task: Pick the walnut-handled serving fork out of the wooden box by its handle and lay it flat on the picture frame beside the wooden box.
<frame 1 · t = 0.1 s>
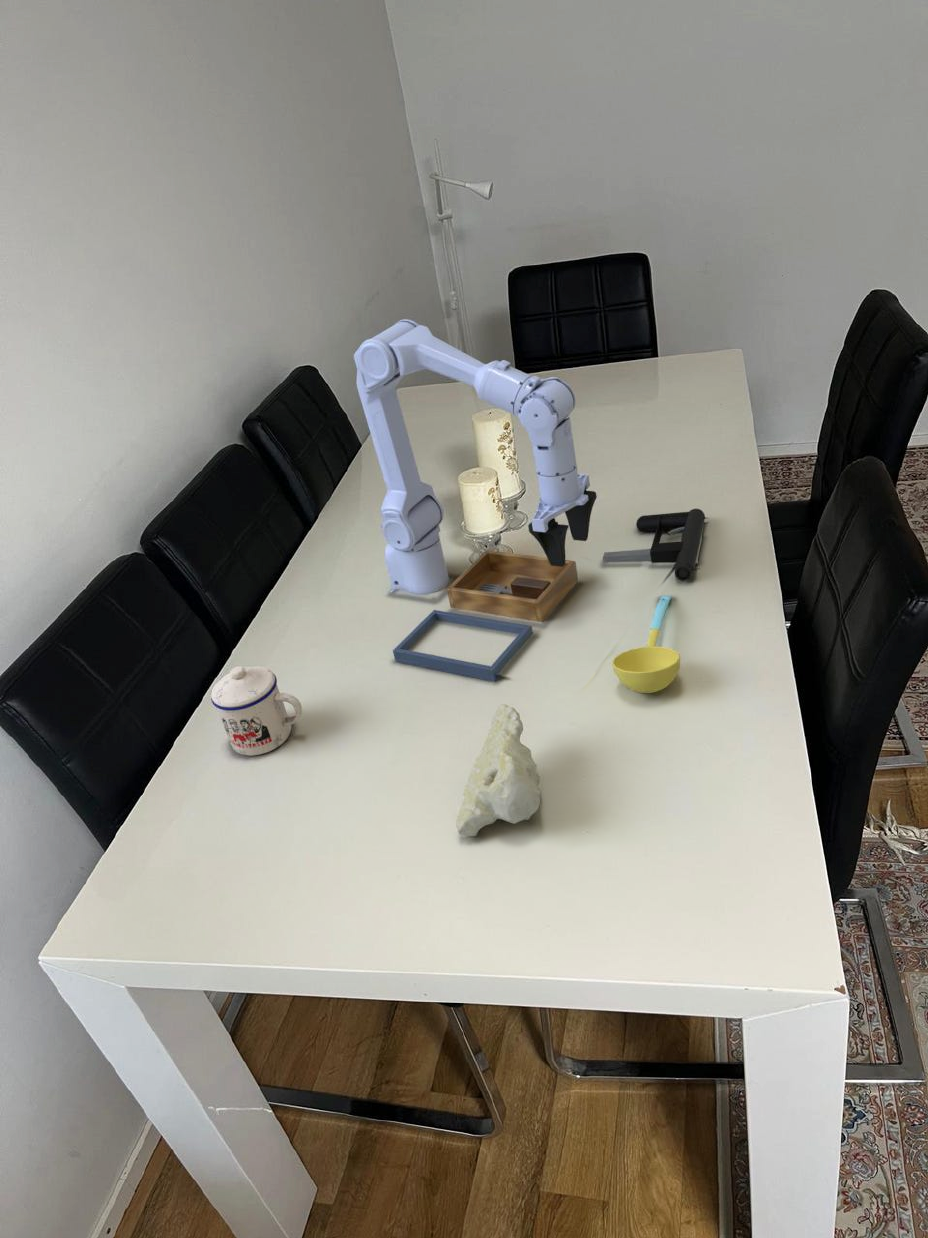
hand: (569, 552, 145), 10 cm above the table, tool pointing down, fingers open, 7 cm apart
white rock: (501, 795, 118), on the table
teacup with lid: (272, 737, 137), on the table
fork: (514, 593, 156), point 1 cm above the table, touching wooden box
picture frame: (464, 649, 147), on the table
door handle: (657, 553, 160), on the table
wooden box: (515, 598, 156), on the table
ladle: (656, 649, 138), on the table
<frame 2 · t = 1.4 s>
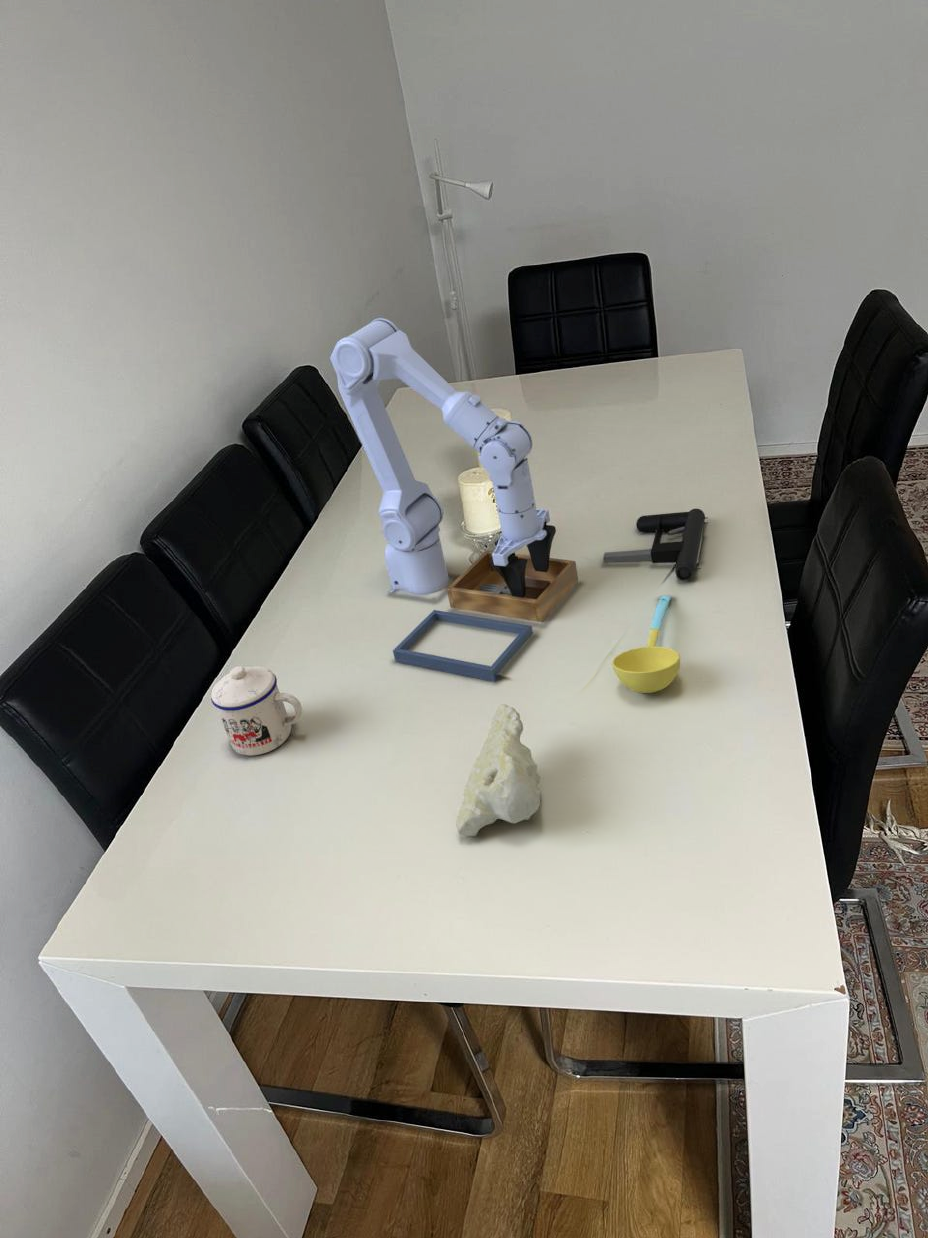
hand: (530, 583, 153), 3 cm above the table, tool pointing down, fingers open, 7 cm apart
nothing on the table moved.
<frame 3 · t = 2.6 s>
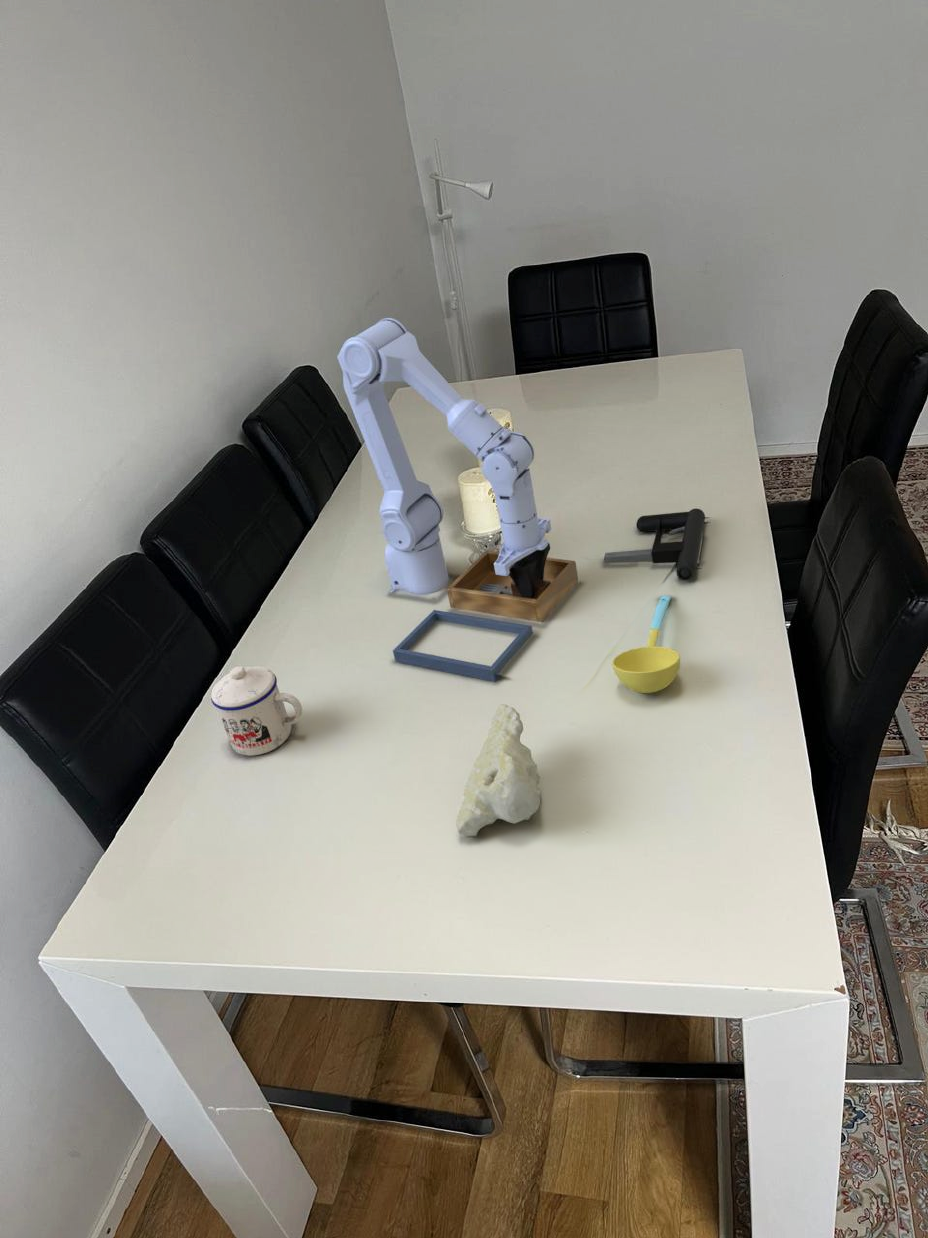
hand: (531, 592, 154), 2 cm above the table, tool pointing down, fingers closed on fork, 2 cm apart
fork: (514, 593, 156), point 1 cm above the table, touching wooden box, gripper
everything else where it was.
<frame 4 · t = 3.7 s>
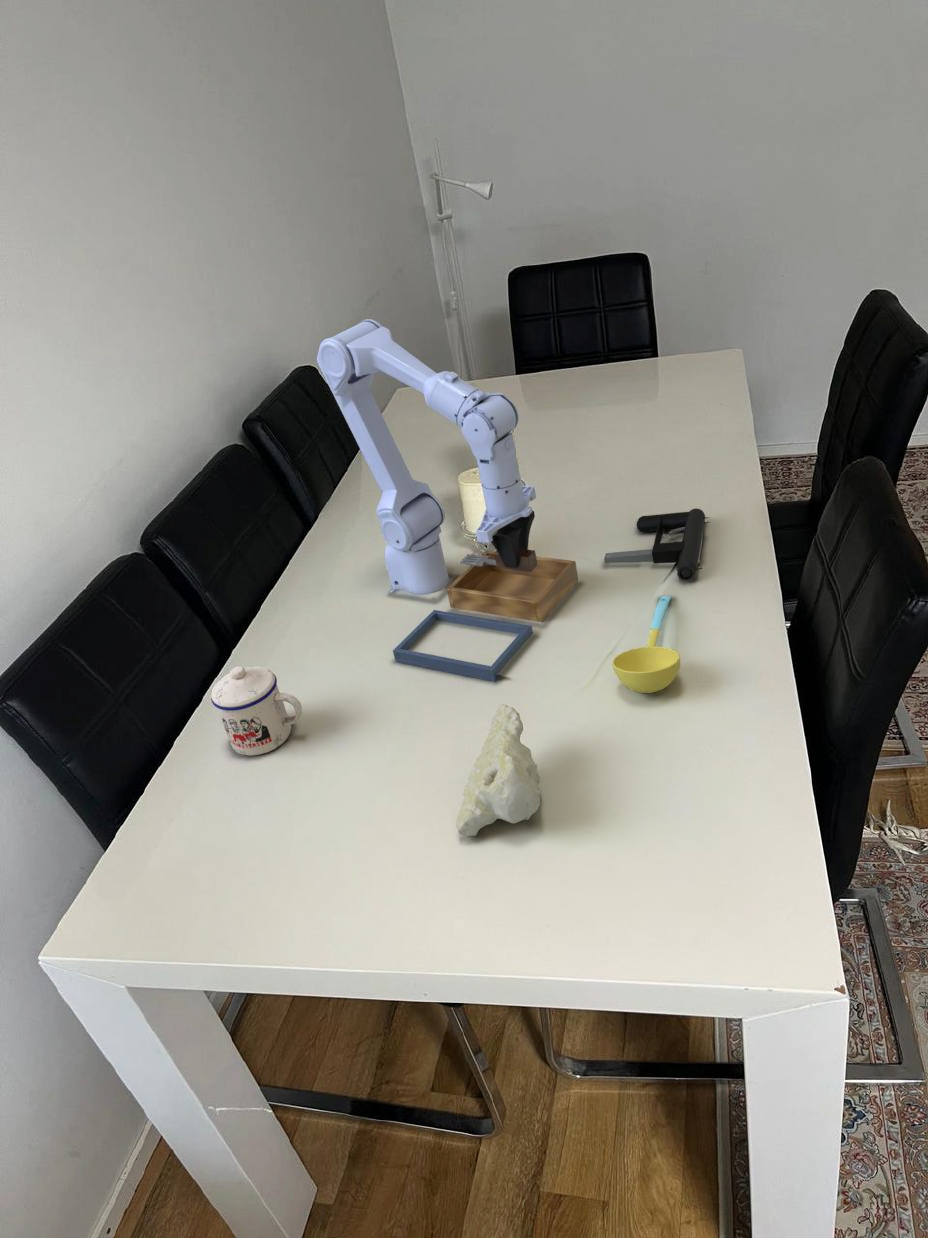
hand: (516, 562, 149), 9 cm above the table, tool pointing down, fingers closed on fork, 2 cm apart
fork: (498, 564, 151), point 8 cm above the table, touching gripper
everything else where it was.
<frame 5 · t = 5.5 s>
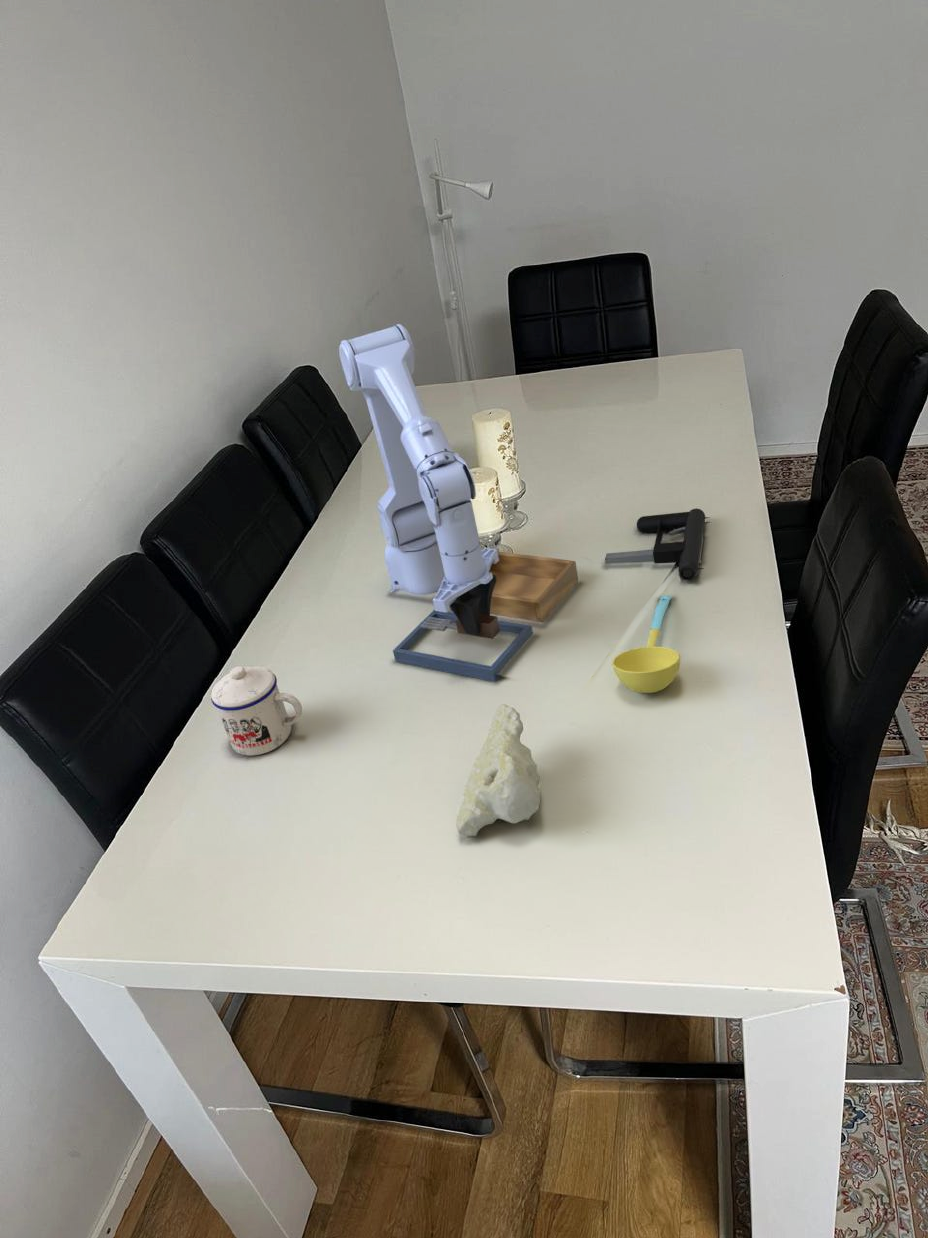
hand: (477, 627, 143), 5 cm above the table, tool pointing down, fingers closed on fork, 2 cm apart
fork: (460, 629, 145), point 4 cm above the table, touching gripper
everything else where it was.
when the fingers open (1 cm above the table, at t = 6.6 s): fork stays where it is, resting on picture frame.
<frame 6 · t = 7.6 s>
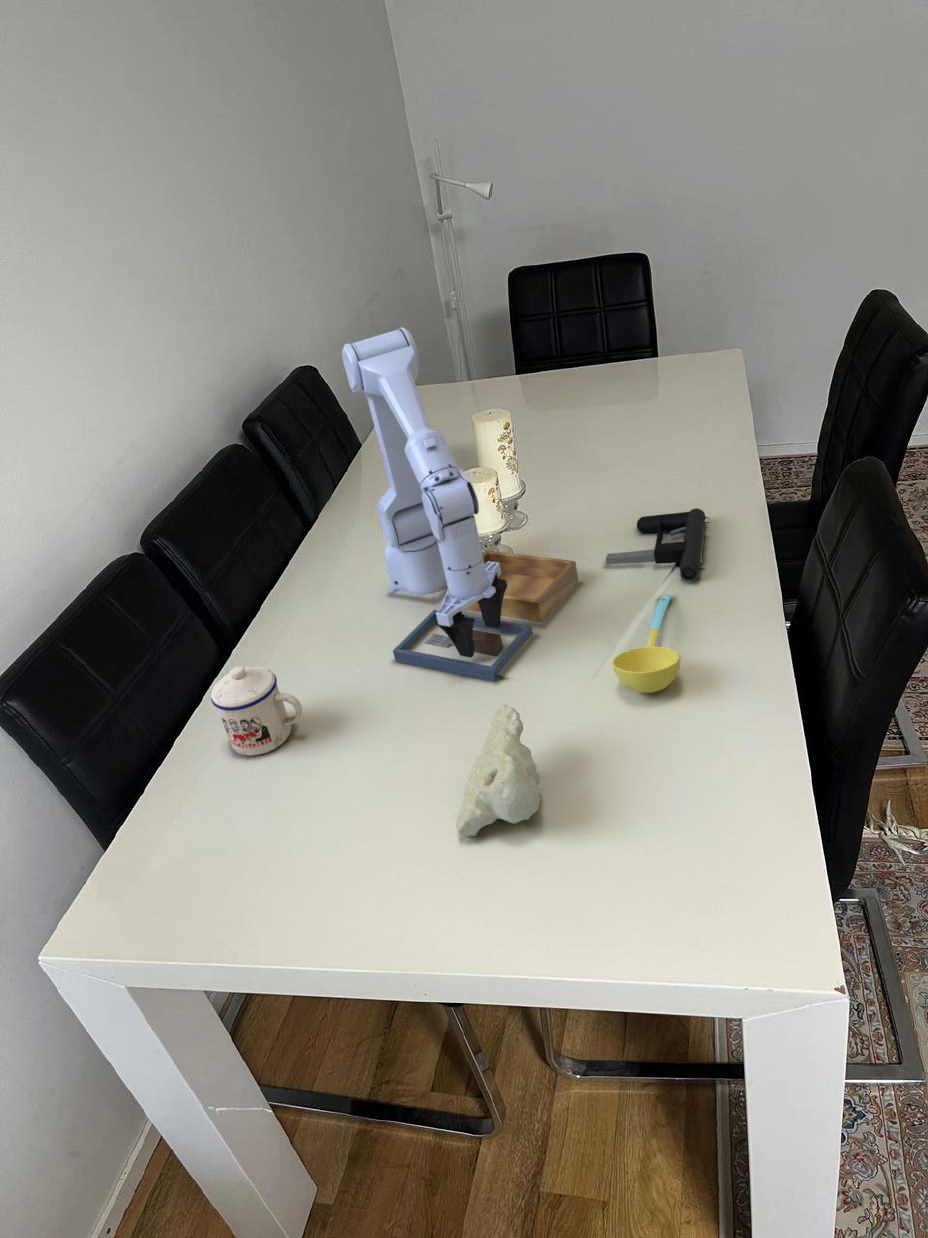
hand: (480, 640, 144), 2 cm above the table, tool pointing down, fingers open, 7 cm apart
fork: (464, 646, 146), point 1 cm above the table, touching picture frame
everything else where it was.
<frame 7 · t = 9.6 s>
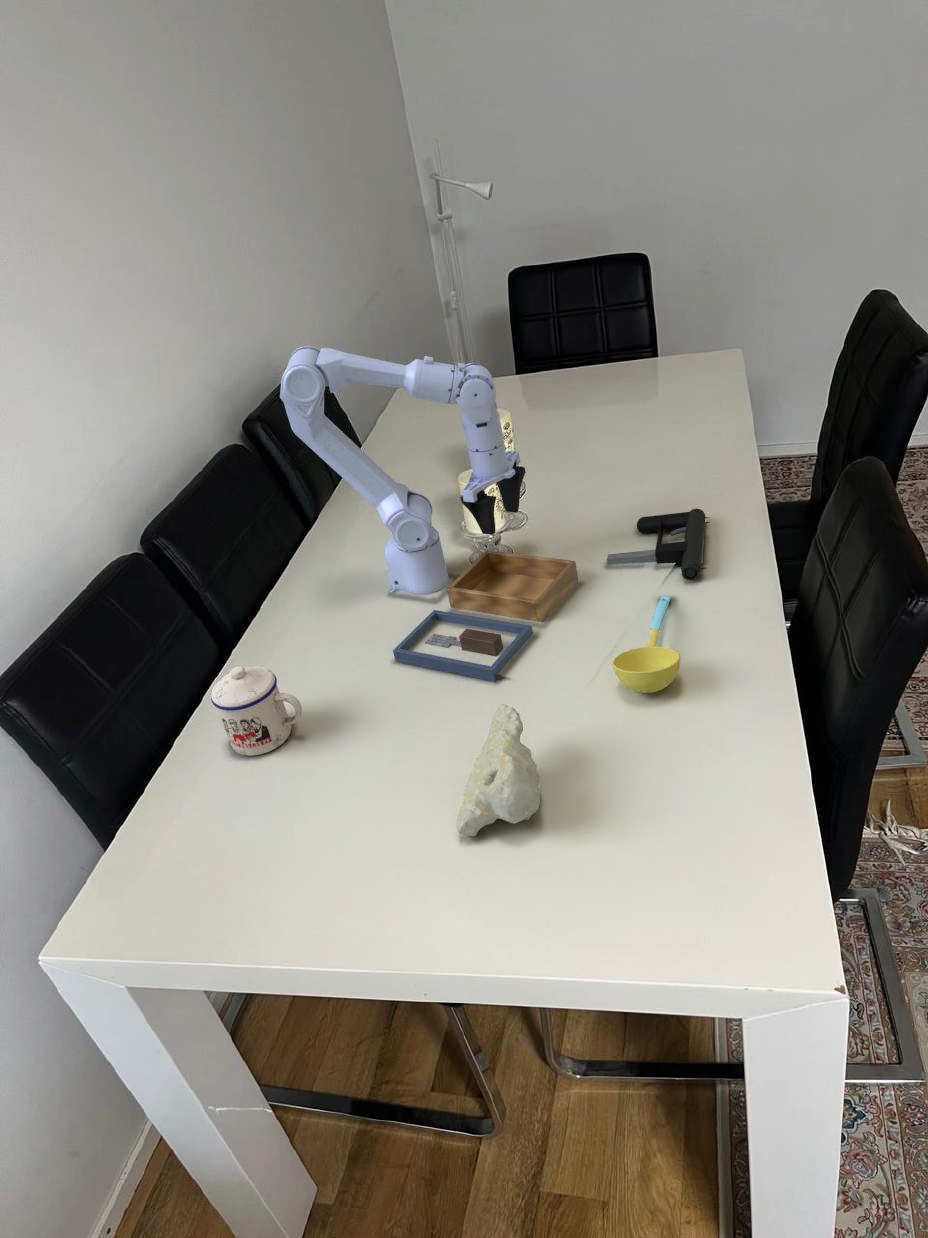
hand: (500, 522, 159), 9 cm above the table, tool pointing down, fingers open, 7 cm apart
nothing on the table moved.
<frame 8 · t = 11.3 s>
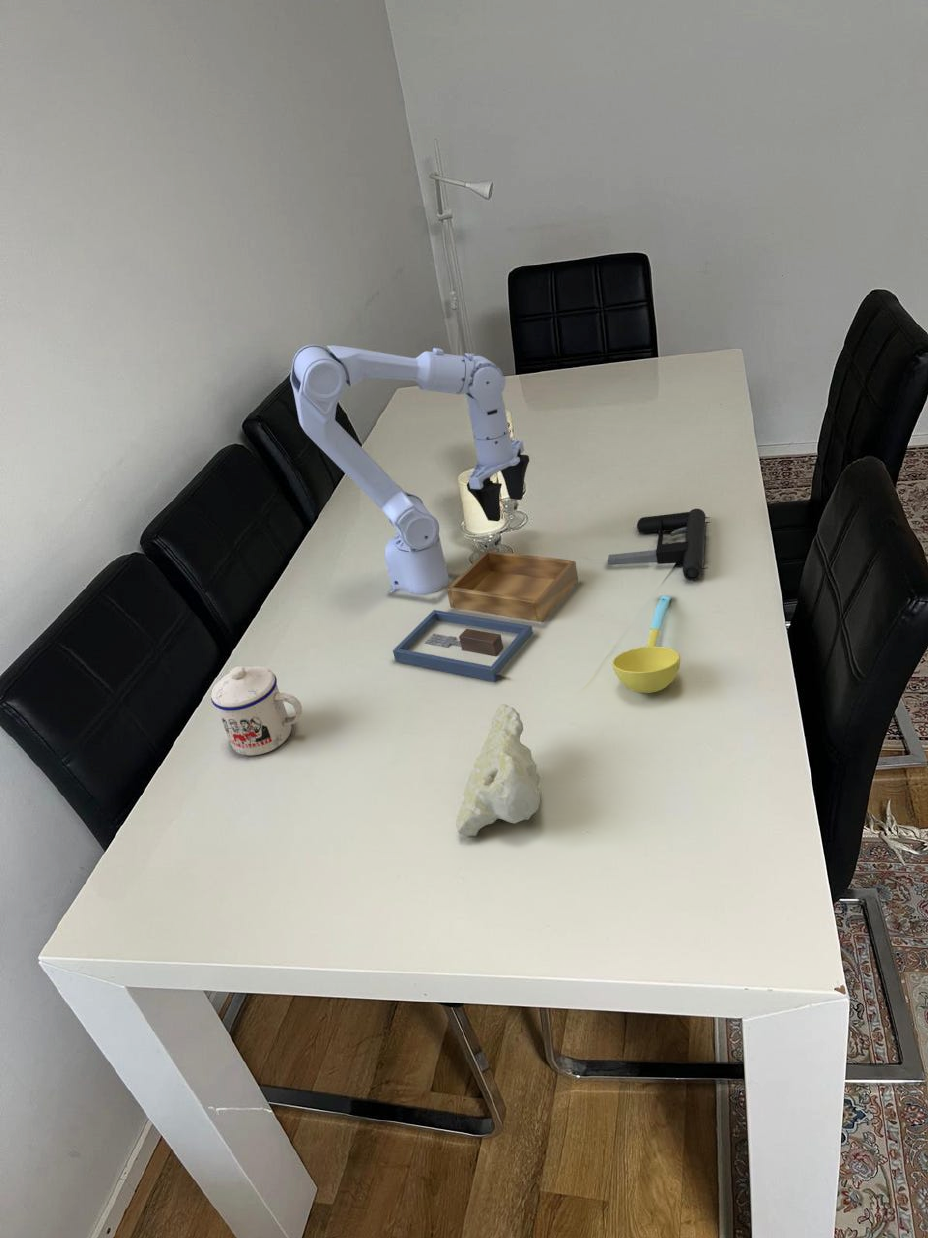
hand: (505, 509, 163), 9 cm above the table, tool pointing down, fingers open, 7 cm apart
nothing on the table moved.
at the end: fork inside the target area in the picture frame (0.1 cm from its centre), point 0.6 cm above the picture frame's base; fork touching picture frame; the gripper is holding nothing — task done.
